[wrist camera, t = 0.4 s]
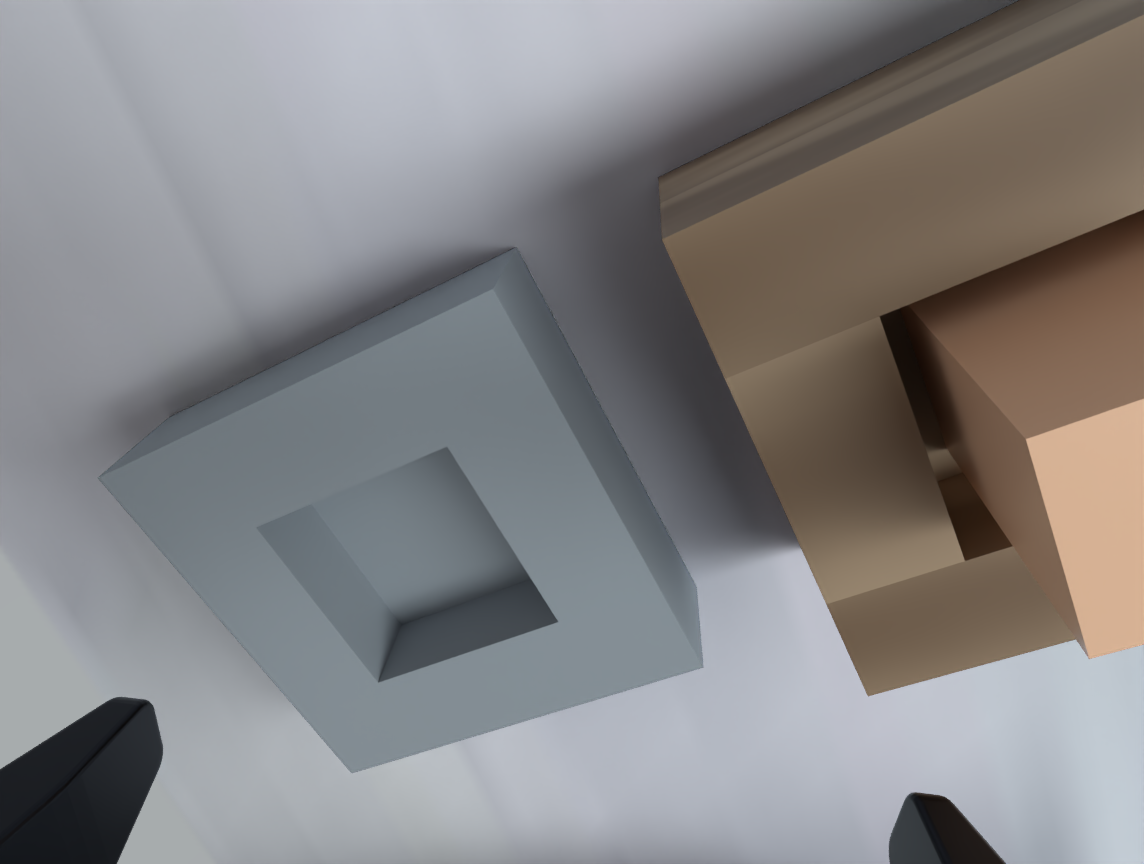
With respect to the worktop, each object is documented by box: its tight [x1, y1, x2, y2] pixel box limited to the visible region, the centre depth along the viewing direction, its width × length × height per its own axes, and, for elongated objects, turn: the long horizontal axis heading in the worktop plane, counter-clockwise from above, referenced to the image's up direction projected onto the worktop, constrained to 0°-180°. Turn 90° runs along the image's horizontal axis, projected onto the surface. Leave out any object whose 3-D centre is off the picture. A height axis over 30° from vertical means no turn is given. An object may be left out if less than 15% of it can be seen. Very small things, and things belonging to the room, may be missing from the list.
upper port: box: [658, 0, 1144, 696], centre depth 18 cm, size 12×12×6 cm
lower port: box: [98, 248, 703, 773], centre depth 23 cm, size 12×12×4 cm
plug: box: [900, 210, 1144, 659], centre depth 15 cm, size 4×4×7 cm
